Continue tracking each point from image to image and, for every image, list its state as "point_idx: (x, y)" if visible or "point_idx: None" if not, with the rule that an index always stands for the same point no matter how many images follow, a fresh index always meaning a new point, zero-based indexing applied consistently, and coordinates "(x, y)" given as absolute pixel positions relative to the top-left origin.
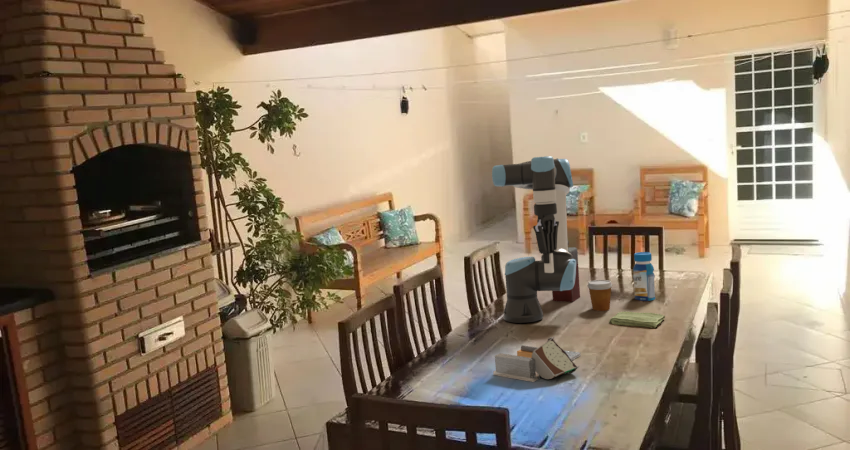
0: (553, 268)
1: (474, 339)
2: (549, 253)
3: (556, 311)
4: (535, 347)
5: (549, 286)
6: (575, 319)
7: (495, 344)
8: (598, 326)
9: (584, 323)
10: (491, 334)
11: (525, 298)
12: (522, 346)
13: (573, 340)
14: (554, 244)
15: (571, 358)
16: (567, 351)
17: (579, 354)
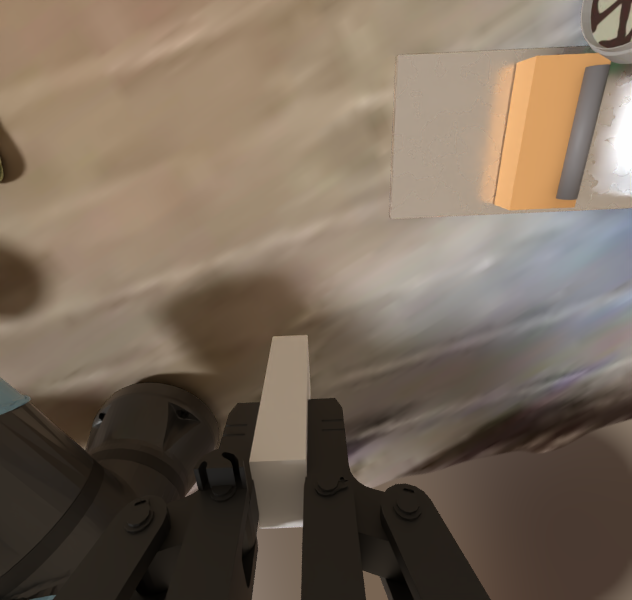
0: (274, 353)
1: (372, 428)
2: (320, 469)
3: None
4: (589, 136)
5: (62, 435)
6: (41, 316)
7: (390, 362)
8: (54, 203)
9: (58, 266)
10: None
11: (157, 460)
12: (578, 193)
13: (247, 187)
14: (128, 587)
15: (464, 52)
16: (402, 110)
17: (405, 55)
